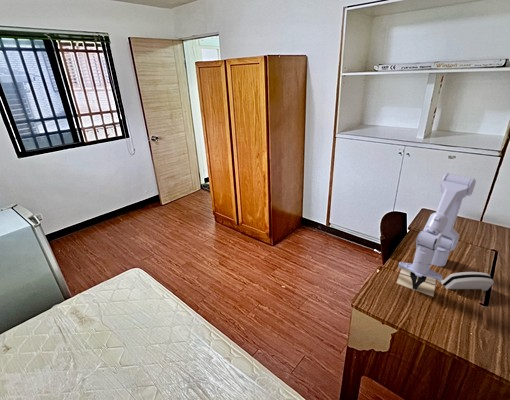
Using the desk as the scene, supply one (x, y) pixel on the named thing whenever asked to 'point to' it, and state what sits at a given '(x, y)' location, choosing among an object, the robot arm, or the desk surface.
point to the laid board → (407, 273)
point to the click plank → (421, 288)
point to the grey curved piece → (468, 281)
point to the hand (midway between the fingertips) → (414, 287)
